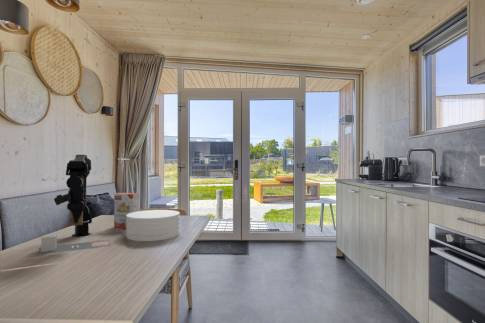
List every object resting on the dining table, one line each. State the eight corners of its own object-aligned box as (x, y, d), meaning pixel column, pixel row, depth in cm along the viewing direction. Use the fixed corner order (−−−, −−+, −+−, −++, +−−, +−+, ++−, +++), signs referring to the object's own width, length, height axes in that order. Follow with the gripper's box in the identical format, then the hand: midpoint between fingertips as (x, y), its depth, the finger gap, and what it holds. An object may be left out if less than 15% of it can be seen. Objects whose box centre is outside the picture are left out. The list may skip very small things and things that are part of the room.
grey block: (41, 252, 116) (41, 237, 116) (42, 249, 120) (43, 235, 121) (55, 250, 118) (55, 236, 119) (56, 247, 123) (56, 234, 123)
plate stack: (114, 237, 145) (114, 215, 145) (154, 227, 169) (154, 208, 170) (152, 244, 131) (153, 220, 132) (189, 232, 156) (190, 212, 157)
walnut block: (69, 225, 121) (69, 212, 121) (70, 223, 125) (70, 210, 126) (82, 224, 124) (82, 211, 124) (82, 222, 128) (82, 209, 128)
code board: (35, 256, 112) (35, 254, 112) (40, 248, 123) (40, 247, 123) (110, 247, 126) (110, 245, 126) (109, 240, 136) (109, 239, 136)
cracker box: (113, 227, 167) (113, 193, 167) (120, 225, 172) (120, 192, 173) (132, 229, 163) (133, 194, 163) (139, 227, 168) (139, 193, 169)
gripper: (57, 187, 129) (57, 220, 129) (53, 190, 113) (52, 227, 112) (84, 186, 135) (84, 218, 134) (84, 189, 118) (83, 225, 118)
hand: (76, 222), depth 125 cm, fingers closed on walnut block, 5 cm apart
